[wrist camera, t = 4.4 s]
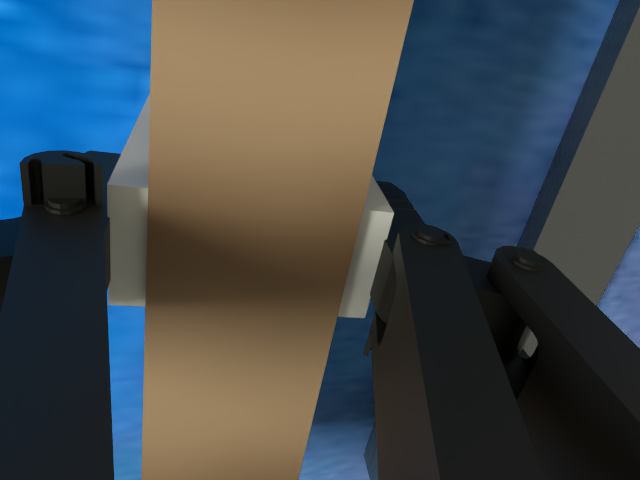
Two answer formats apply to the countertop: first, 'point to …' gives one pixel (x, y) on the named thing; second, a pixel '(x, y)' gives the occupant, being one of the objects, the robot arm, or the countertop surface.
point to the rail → (254, 219)
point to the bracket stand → (590, 176)
